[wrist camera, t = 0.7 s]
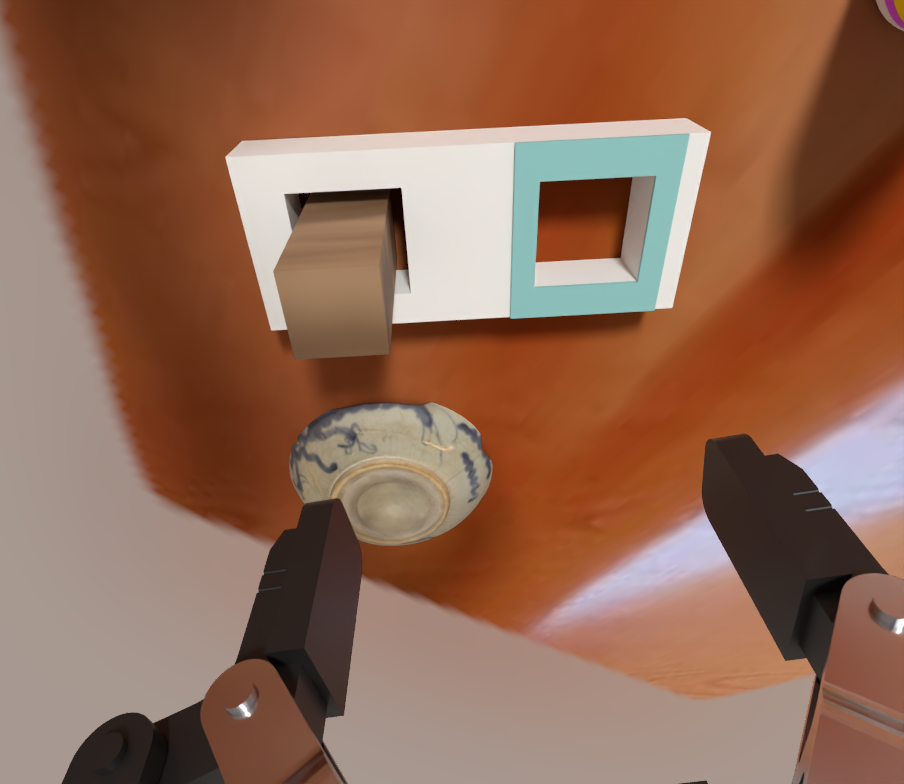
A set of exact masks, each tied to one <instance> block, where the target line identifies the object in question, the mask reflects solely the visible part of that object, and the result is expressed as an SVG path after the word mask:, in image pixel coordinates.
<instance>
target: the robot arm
mask: <svg viewBox="0 0 904 784" xmlns="http://www.w3.org/2000/svg"><path fill="white" fill-rule="evenodd" d="M702 499H703V504H704V508H705V512H706V514H707V517H708V519H709V521H710V523H711V525H712V527H713V529H714V530H715V532H716V534H717V536H718V538H719V540H720V541H721V543H722V545H723V547H724V549H725V551H726V552H727V554H728V556H729V558H730V560H731V562H732V563H733V565H734V567H735V569H736V571H737V573H738V574H739V576H740V578H741V580H742V582H743V584H744V585H745V587H746V589H747V591H748V593H749V595H750V597H751V598H752V600H753V602H754V604H755V606H756V608H757V609H758V611H759V613H760V615H761V617H762V619H763V620H764V622H765V624H766V626H767V628H768V630H769V631H770V633H771V635H772V637H773V639H774V641H775V642H776V644H777V646H778V648H779V650H780V652H781V653H782V655H783V657H784V659H785V661H787V660H795V659H803V658H807V659H808V661H809V663H810V665H811V666H812V668H813V670H814V671H815V673H816V675H815V678H814V682H813V687H812V691H811V696H810V701H809V706H808V710H807V715H806V720H805V725H804V729H803V734H802V739H801V743H800V749H799V753H798V758H797V763H796V767H795V772H794V776H793V780H792V784H904V579H901V578H898V577H895V576H891V575H889V574H888V573H887V572H886V571H885V570H884V569H883V568H882V567H881V565H880V564H879V563H878V562H877V560H876V559H875V558H874V557H873V556H872V554H871V553H870V552H869V551H868V549H867V548H866V547H865V546H864V544H863V543H862V542H861V541H860V539H859V538H858V537H857V536H856V535H855V533H854V532H853V531H852V530H851V528H850V527H849V526H848V525H847V523H846V522H845V521H844V520H843V518H842V517H841V516H840V515H839V514H838V512H837V511H836V510H835V509H832V507H831V504H830V502H829V501H828V500H827V499H826V497H825V496H824V495H823V494H822V493H819V491H818V488H817V486H816V485H815V484H814V483H813V481H812V480H811V479H810V478H809V477H808V475H807V474H806V473H805V472H804V470H803V469H802V468H800V467H798V466H797V465H795V464H794V463H792V462H791V461H789V460H787V459H786V458H784V457H783V456H781V455H779V454H774V455H767V456H764V454H763V453H762V452H761V450H760V449H759V448H758V446H757V445H756V444H755V442H754V441H753V440H752V438H751V437H750V436H749V435H747V434H739V435H733V436H727V437H721V438H715V439H709V440H708V441H707V442H706V446H705V457H704V470H703V482H702ZM361 575H362V554H361V549H360V545H359V542H358V539H357V537H356V534H355V532H354V530H353V527H352V525H351V522H350V520H349V518H348V515H347V513H346V510H345V508H344V506H343V503H342V502H341V500H340V499H339V498H334V499H328V500H322V501H316V502H310V503H305V504H304V506H303V508H302V511H301V515H300V518H299V522H298V526H297V528H296V529H289V530H284V532H283V533H282V534H281V536H280V537H279V538H278V540H277V541H276V543H275V544H274V545H273V547H272V548H271V549H270V552H269V555H268V558H267V562H266V565H265V568H264V575H263V576H262V578H261V581H260V585H259V588H258V589H259V593H257V594H256V598H255V602H254V604H253V608H252V611H251V615H250V618H249V621H248V624H247V628H246V631H245V634H244V637H243V641H242V644H241V647H240V651H239V654H238V658H237V660H236V662H235V665H233V666H232V667H230V668H228V669H227V670H226V671H225V672H224V673H222V674H221V675H220V676H219V677H218V678H217V679H216V680H215V681H214V683H213V684H212V685H211V686H210V688H209V690H208V691H207V693H206V695H205V698H204V699H203V700H201V701H200V702H198V703H196V704H194V705H192V706H190V707H188V708H186V709H183V710H181V711H179V712H177V713H175V714H173V715H170V716H168V717H166V718H164V719H162V720H160V721H158V722H155V723H152V722H151V721H150V720H149V719H148V718H147V717H146V716H144V715H142V714H139V713H126V714H122V715H119V716H116V717H114V718H112V719H110V720H109V721H107V722H105V723H104V724H102V725H101V726H100V727H98V728H97V729H96V730H95V731H94V732H93V733H92V734H91V735H90V736H89V737H88V738H87V739H86V740H85V741H84V743H83V744H82V745H81V746H80V748H79V749H78V751H77V752H76V754H75V755H74V757H73V760H72V761H71V763H70V766H69V768H68V770H67V773H66V775H65V777H64V780H63V782H62V784H348V783H347V781H346V779H345V777H344V776H343V774H342V772H341V771H340V769H339V767H338V766H337V764H336V762H335V760H334V759H333V757H332V755H331V754H330V752H329V750H328V748H327V747H326V745H325V743H324V742H323V740H322V739H323V733H324V726H325V719H326V718H328V717H335V716H343V715H344V710H345V701H346V693H347V686H348V678H349V670H350V662H351V654H352V646H353V638H354V631H355V623H356V614H357V606H358V598H359V591H360V583H361ZM681 784H708V783H707V781H699V782H690V783H681Z"/></svg>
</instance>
